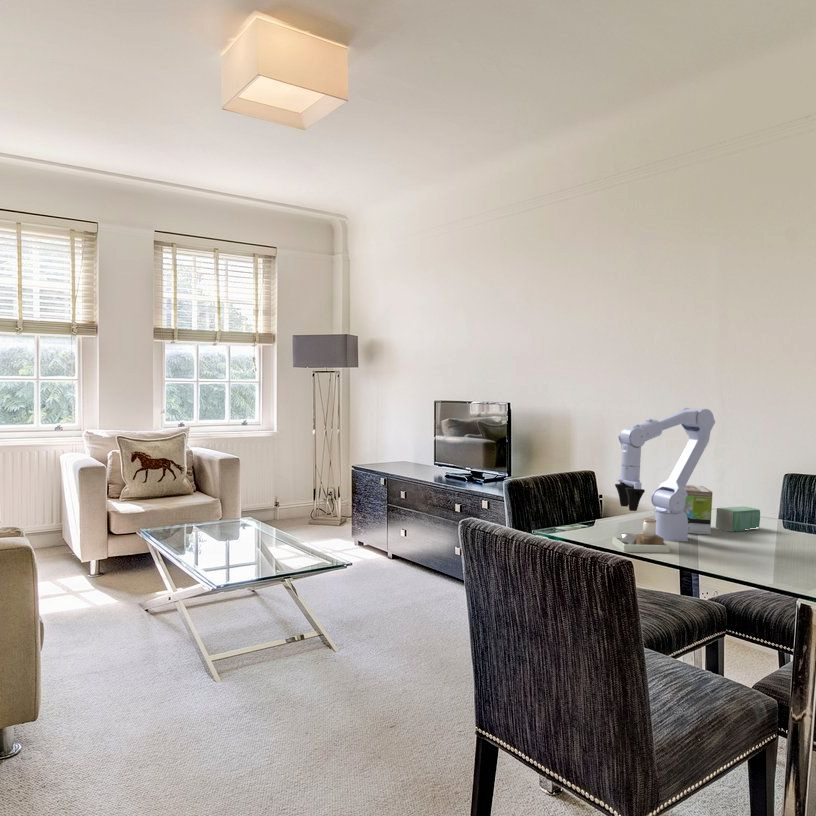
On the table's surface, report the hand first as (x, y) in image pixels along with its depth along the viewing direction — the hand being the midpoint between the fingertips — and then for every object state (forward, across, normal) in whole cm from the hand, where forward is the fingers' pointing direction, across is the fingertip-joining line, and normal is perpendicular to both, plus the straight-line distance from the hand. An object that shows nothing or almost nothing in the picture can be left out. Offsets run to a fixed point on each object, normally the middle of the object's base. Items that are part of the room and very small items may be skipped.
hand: (628, 508), depth 215 cm
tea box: (+10, -19, +30) cm, 37 cm away
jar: (+6, +10, +3) cm, 12 cm away
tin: (+10, +10, -3) cm, 14 cm away
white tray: (+10, +10, 0) cm, 14 cm away
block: (+10, +10, +3) cm, 14 cm away
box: (+10, -21, +47) cm, 53 cm away
